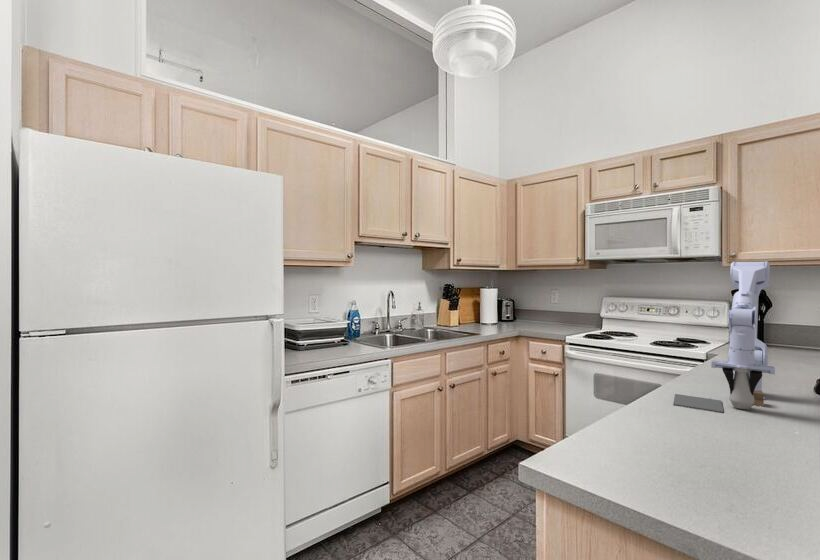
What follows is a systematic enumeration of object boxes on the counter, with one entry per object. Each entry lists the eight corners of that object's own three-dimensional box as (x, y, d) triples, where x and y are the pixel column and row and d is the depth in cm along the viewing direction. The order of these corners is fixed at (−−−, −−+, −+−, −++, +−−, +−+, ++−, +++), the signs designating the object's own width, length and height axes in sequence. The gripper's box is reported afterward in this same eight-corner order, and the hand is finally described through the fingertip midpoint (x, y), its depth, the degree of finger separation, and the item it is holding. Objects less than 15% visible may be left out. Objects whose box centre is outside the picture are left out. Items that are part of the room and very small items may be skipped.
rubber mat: (675, 395, 133) (675, 393, 133) (720, 401, 127) (721, 400, 127) (673, 405, 123) (673, 403, 123) (723, 413, 116) (723, 411, 116)
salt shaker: (745, 404, 123) (745, 361, 123) (759, 410, 117) (759, 365, 117) (724, 404, 123) (724, 361, 123) (737, 410, 118) (738, 365, 118)
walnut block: (744, 401, 128) (745, 388, 128) (761, 403, 125) (761, 390, 125) (746, 404, 124) (746, 391, 124) (763, 407, 122) (763, 393, 122)
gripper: (711, 348, 121) (711, 393, 121) (777, 353, 113) (776, 402, 113) (711, 345, 127) (710, 388, 127) (773, 350, 119) (772, 396, 119)
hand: (741, 394), depth 120 cm, fingers closed on salt shaker, 4 cm apart
